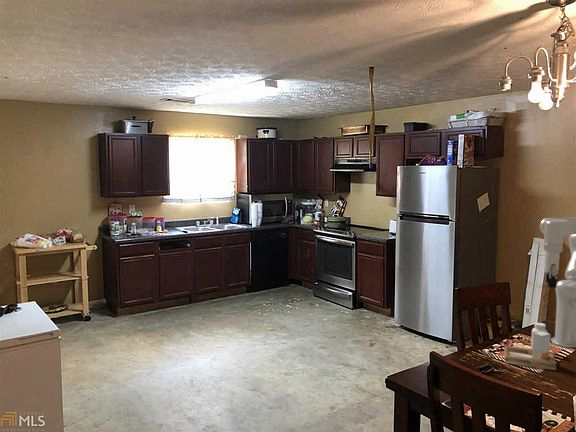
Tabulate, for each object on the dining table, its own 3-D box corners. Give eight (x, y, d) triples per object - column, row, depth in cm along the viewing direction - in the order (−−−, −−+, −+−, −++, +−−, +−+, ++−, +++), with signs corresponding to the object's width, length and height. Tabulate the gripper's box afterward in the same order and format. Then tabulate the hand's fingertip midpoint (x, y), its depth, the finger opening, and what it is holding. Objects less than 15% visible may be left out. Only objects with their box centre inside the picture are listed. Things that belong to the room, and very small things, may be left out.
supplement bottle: (548, 353, 227) (550, 326, 226) (533, 352, 229) (534, 325, 227) (543, 348, 234) (545, 322, 233) (529, 347, 235) (530, 321, 234)
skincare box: (540, 362, 214) (542, 335, 213) (531, 358, 218) (533, 332, 217) (549, 359, 217) (550, 333, 216) (540, 356, 221) (541, 330, 220)
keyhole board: (504, 350, 231) (504, 345, 230) (552, 357, 223) (552, 351, 223) (504, 362, 216) (505, 357, 216) (556, 370, 208) (556, 364, 208)
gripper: (542, 244, 229) (540, 280, 231) (545, 250, 213) (543, 288, 215) (560, 245, 226) (558, 281, 228) (565, 251, 210) (562, 290, 212)
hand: (551, 284), depth 221 cm, fingers open, 9 cm apart
